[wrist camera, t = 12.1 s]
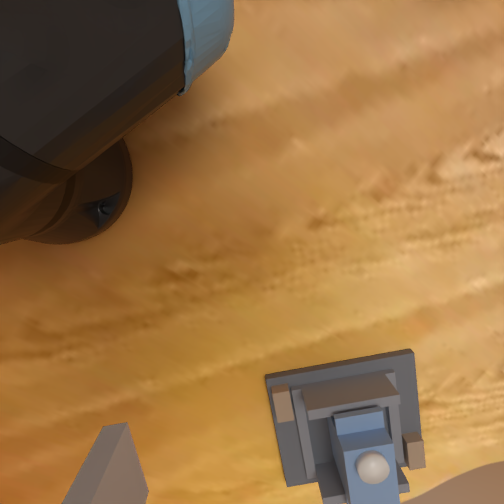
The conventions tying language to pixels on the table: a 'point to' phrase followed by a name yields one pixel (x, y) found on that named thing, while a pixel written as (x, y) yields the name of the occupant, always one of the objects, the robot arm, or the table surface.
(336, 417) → the block
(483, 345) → the table surface
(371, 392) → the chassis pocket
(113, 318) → the table surface
